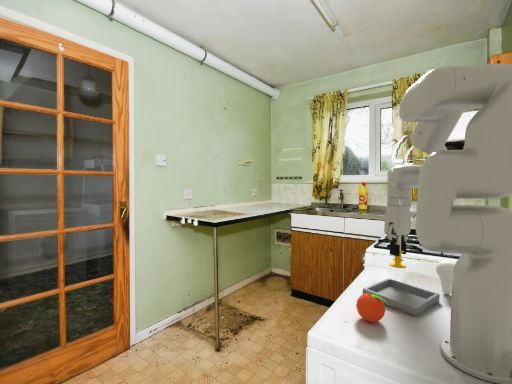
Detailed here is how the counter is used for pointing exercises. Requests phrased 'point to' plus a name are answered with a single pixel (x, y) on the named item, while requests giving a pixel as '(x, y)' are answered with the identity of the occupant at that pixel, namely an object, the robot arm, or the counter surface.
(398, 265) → the candle
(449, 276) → the lightbulb
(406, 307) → the tray
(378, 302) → the clementine
